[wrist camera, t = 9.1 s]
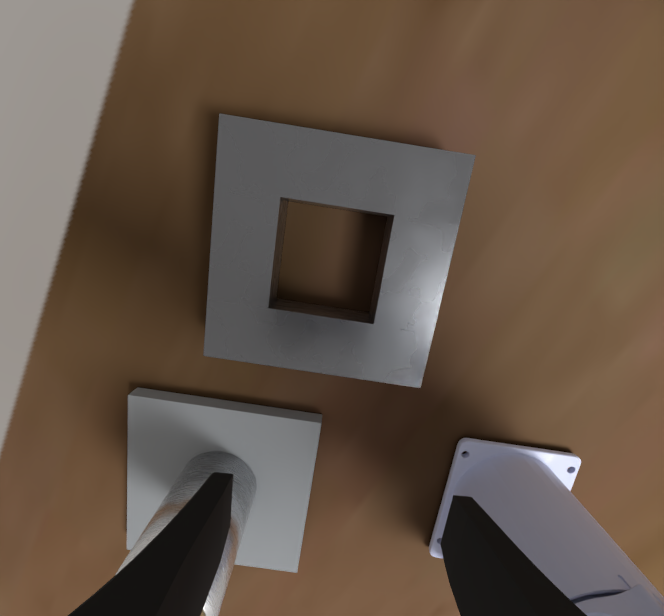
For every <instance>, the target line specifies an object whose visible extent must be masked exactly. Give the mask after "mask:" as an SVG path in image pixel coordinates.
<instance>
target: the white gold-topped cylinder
mask: <svg viewBox="0 0 664 616" xmlns="http://www.w3.org/2000/svg"><path fill="white" fill-rule="evenodd" d="M214 472H219V473H230V474H233V488H232V505H231V522H230V528H229V532H228V536H227V539H226V543H225V547H224V550H223V554H222V558H221V561H220V564H219V567H218V570H217V572H216V575H215V578H214V581H213V583H212V586H211V589H210V591H209V594H208V597H207V599H206V602H205V605H204V607H203V610H202V613H201V616H218V615H219V612H220V608H221V605H222V602H223V599H224V595H225V592H226V589H227V586H228V582H229V579H230V576H231V573H232V569H233V566H234V563H235V560H236V557H237V553H238V550H239V547H240V544H241V540H242V537H243V534H244V531H245V527H246V524H247V521H248V518H249V514H250V511H251V508H252V505H253V502H254V498H255V495H256V491H257V482H256V478H255V475H254V473H253V471H252V470H251V468H250V467H249V466H248V465H247V464H246V463H245V462H244V461H243V460H241V459H240V458H238V457H236V456H235V455H232V454H229V453H226V452H220V451H210V452H205V453H202V454H199V455H197V456H195V457H194V458H192V459H191V460H190V461H189V462H188V463H187V464H186V465H185V467H184V469H183V470H182V472H181V473H180V475H179V476H178V478H177V479H176V481H175V483H174V484H173V486H172V487H171V489H170V490H169V492H168V493H167V495H166V497H165V498H164V500H163V501H162V503H161V504H160V506H159V508H158V509H157V511H156V512H155V514H154V515H153V517H152V518H151V520H150V522H149V523H148V525H147V526H146V528H145V529H144V531H143V533H142V534H141V536H140V537H139V539H138V540H137V542H136V543H135V545H134V547H133V548H132V550H131V551H130V553H129V554H128V556H127V557H126V559H125V561H124V562H123V564H122V565H121V567H120V568H119V570H118V572H117V573H119V572H120V571H121V570H122V569H123V568H124V567H125V566H126V565H127V564H128V563H129V562H130V561H131V560H133V559H134V558H135V557H136V556H137V555H138V554H139V553H140V552H141V551H142V550H143V549H144V548H145V547H146V546H147V545H148V544H149V543H150V542H151V541H152V540H153V539H154V538H155V537H156V536H157V535H158V534H159V533H160V532H161V531H162V530H163V529H164V528H165V527H166V525H167V524H168V523H169V522H170V521H171V520H172V519H173V518H174V517H175V516H176V515H177V514H178V512H179V511H180V510H181V509H182V508H183V507H184V506H185V505H186V504H187V502H188V501H189V500H190V499H191V498H192V497H193V496H194V494H195V493H196V492H197V491H198V490H199V488H200V487H201V486H202V485H203V484H204V482H205V481H206V480H207V479H208V477H209V476H210V475H211V474H212V473H214ZM117 573H116V574H117Z"/></svg>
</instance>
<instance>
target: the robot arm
mask: <svg viewBox="0 0 664 616" xmlns="http://www.w3.org/2000/svg"><path fill="white" fill-rule="evenodd" d="M464 451H467V452H466V453H465V454H462V452H464ZM580 465H581V460H580V458H579V457H578V456H577V455H575V454H573V453H567V452H561V451H554V450H547V449H540V448H533V447H526V446H520V445H513V444H506V443H499V442H492V441H485V440H479V439H472V438H463V439H461V440H459V442H458V444H457V448H456V451H455V455H454V458H453V462H452V466H451V469H450V473H449V476H448V480H447V484H446V487H445V491H444V494H443V498H442V502H441V505H440V509H439V512H438V516H437V520H436V523H435V527H434V530H433V534H432V537H431V541H430V545H429V551H430V554H431V555H432V556H433V557H437V558H444V563H445V567H446V571H447V575H448V579H449V583H450V586H451V589H452V592H453V595H454V597H455V600H456V603H457V606H458V609H459V612H460V615H461V616H664V597H663V596H662V595H661V594H660V593H659V591H658V590H657V589H656V588H655V587H654V586H653V585H652V583H651V582H650V581H649V580H648V579H647V578H646V577H645V576H644V574H643V573H642V572H641V571H640V570H639V569H638V568H637V566H636V565H635V564H634V563H633V562H632V561H631V560H630V559H629V557H628V556H627V555H626V554H625V553H624V552H623V551H622V549H621V548H620V547H619V546H618V545H617V544H616V543H615V542H614V540H613V539H612V538H611V537H610V536H609V535H608V534H607V532H606V531H605V530H604V529H603V528H602V527H601V526H600V525H599V523H598V522H597V521H596V520H595V519H594V518H593V517H592V515H591V514H590V513H589V512H588V511H587V510H586V509H585V508H584V506H583V505H582V504H581V503H580V502H579V501H578V500H577V498H576V497H575V496H574V495H573V494H572V493H571V492H570V490H571V488H572V485H573V483H574V480H575V477H576V475H577V472H578V470H579V467H580ZM569 467H570V468H569ZM568 468H569V469H568ZM232 488H233V474H230V473H219V472H214V473H212V474H211V475H210V476H209V477H208V479H207V480H206V481H205V482H204V484H203V485H202V486H201V487H200V488H199V490H198V491H197V492H196V493H195V494H194V496H193V497H192V498H191V499H190V500H189V501H188V502H187V504H186V505H185V506H184V507H183V508H182V509H181V510H180V511H179V512H178V514H177V515H176V516H175V517H174V518H173V519H172V520H171V521H170V522H169V523H168V524H167V525H166V527H165V528H164V529H163V530H162V531H161V532H160V533H159V534H158V535H157V536H156V537H155V538H154V539H153V540H152V541H151V542H150V543H149V544H148V545H147V546H146V547H145V548H144V549H143V550H142V551H141V552H140V553H139V554H138V555H137V556H136V557H135V558H134V559H133V560H131V561H130V562H129V563H128V564H127V565H126V566H125V567H124V568H123V569H122V570H121V571H120V572H119V573H117V574H116V575H115V576H114V577H113V578H112V579H111V580H110V581H108V582H107V583H106V584H105V585H104V586H103V587H102V588H100V589H99V590H98V591H97V592H96V593H95V594H94V595H92V596H91V597H90V598H89V599H87V600H86V601H85V602H84V603H83V604H81V605H80V606H79V607H78V608H77V609H75V610H74V611H73V612H72V613H70V614H69V615H68V616H201V613H202V610H203V607H204V605H205V602H206V599H207V597H208V594H209V591H210V589H211V586H212V583H213V581H214V578H215V575H216V572H217V570H218V567H219V564H220V561H221V558H222V554H223V550H224V547H225V543H226V539H227V536H228V532H229V528H230V522H231V505H232ZM439 538H440V539H439Z"/></svg>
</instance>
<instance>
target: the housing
mask: <svg viewBox="0 0 664 616" xmlns="http://www.w3.org/2000/svg"><path fill="white" fill-rule="evenodd" d="M475 156H476V155H471V154H465V153H458V152H452V151H446V150H440V149H434V148H428V147H422V146H416V145H409V144H403V143H397V142H391V141H385V140H379V139H373V138H367V137H361V136H354V135H348V134H342V133H336V132H330V131H324V130H318V129H312V128H305V127H299V126H293V125H287V124H281V123H275V122H269V121H263V120H256V119H250V118H244V117H238V116H232V115H226V114H220V113H219V125H218V141H217V156H216V171H215V187H214V202H213V217H212V233H211V248H210V263H209V279H208V294H207V309H206V325H205V340H204V355H203V356H208V357H215V358H222V359H228V360H235V361H242V362H248V363H255V364H262V365H268V366H275V367H282V368H289V369H295V370H302V371H309V372H315V373H322V374H329V375H336V376H342V377H349V378H356V379H362V380H369V381H376V382H383V383H389V384H396V385H403V386H409V387H416V388H421V384H422V380H423V375H424V371H425V367H426V363H427V359H428V354H429V350H430V346H431V342H432V337H433V333H434V329H435V325H436V321H437V316H438V312H439V308H440V304H441V300H442V295H443V291H444V287H445V283H446V278H447V274H448V270H449V266H450V262H451V257H452V253H453V249H454V245H455V240H456V236H457V232H458V228H459V224H460V219H461V215H462V211H463V207H464V203H465V198H466V194H467V190H468V186H469V181H470V177H471V173H472V169H473V165H474V160H475ZM288 201H291V202H297V203H304V204H310V205H316V206H322V207H329V208H335V209H341V210H348V211H354V212H360V213H366V214H373V215H379V216H385V217H387V220H386V225H385V231H384V236H383V242H382V247H381V252H380V258H379V263H378V268H377V274H376V279H375V285H374V290H373V295H372V301H371V306H370V312H363V311H356V310H350V309H343V308H337V307H330V306H324V305H317V304H310V303H304V302H297V301H291V300H284V299H278V298H277V291H278V283H279V274H280V266H281V257H282V248H283V240H284V231H285V223H286V214H287V205H288Z"/></svg>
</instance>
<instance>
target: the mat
mask: <svg viewBox="0 0 664 616" xmlns="http://www.w3.org/2000/svg"><path fill="white" fill-rule="evenodd" d="M321 423H322V414H316V413H309V412H302V411H296V410H289V409H282V408H275V407H268V406H261V405H255V404H248V403H241V402H234V401H227V400H221V399H214V398H207V397H200V396H193V395H186V394H180V393H173V392H166V391H159V390H152V389H146V388H139V387H137V388H136V389H135V390H134V391H132V392H131V393H130V394H129V395H128V459H127V549H128V550H132V548H133V547H134V545H135V543H136V542H137V540H138V539H139V537H140V536H141V534H142V533H143V531H144V529H145V528H146V526H147V525H148V523H149V522H150V520H151V518H152V517H153V515H154V514H155V512H156V511H157V509H158V508H159V506H160V504H161V503H162V501H163V500H164V498H165V497H166V495H167V493H168V492H169V490H170V489H171V487H172V486H173V484H174V483H175V481H176V479H177V478H178V476H179V475H180V473H181V472H182V470H183V469H184V467H185V465H186V464H187V463H188V462H189V461H190V460H191V459H192V458H194V457H195V456H197V455H199V454H202V453H205V452H210V451H220V452H226V453H229V454H232V455H235V456H236V457H238V458H240V459H241V460H243V461H244V462H245V463H246V464H247V465H248V466H249V467H250V468H251V470H252V471H253V473H254V475H255V478H256V482H257V491H256V495H255V498H254V502H253V505H252V508H251V511H250V514H249V518H248V521H247V524H246V527H245V531H244V534H243V537H242V540H241V544H240V547H239V550H238V553H237V557H236V560H235V563H234V564H237V565H244V566H252V567H259V568H266V569H273V570H281V571H288V572H295V573H297V570H298V564H299V558H300V551H301V545H302V539H303V533H304V527H305V521H306V515H307V509H308V503H309V497H310V490H311V484H312V478H313V472H314V466H315V460H316V454H317V448H318V442H319V436H320V429H321Z"/></svg>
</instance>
